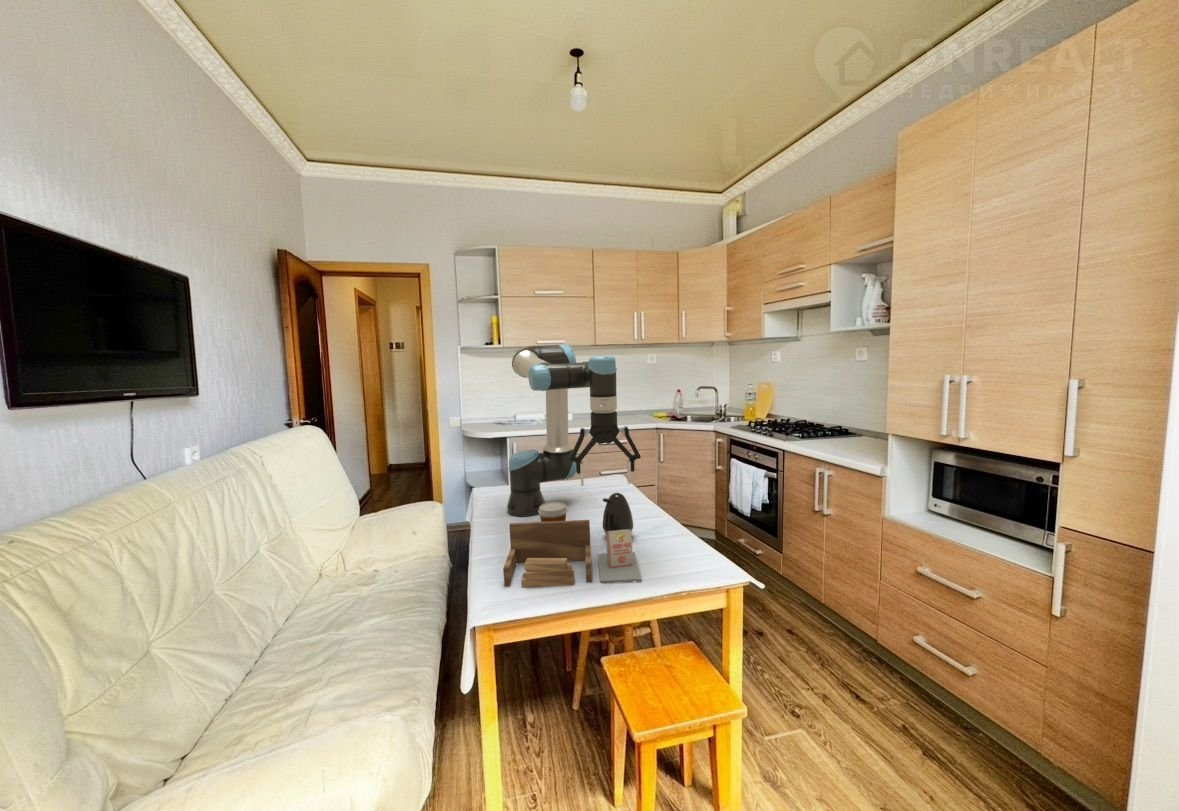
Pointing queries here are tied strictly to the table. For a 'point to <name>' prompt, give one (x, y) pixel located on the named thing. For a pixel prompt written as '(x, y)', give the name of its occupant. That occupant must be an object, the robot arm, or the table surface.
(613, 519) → the pump dispenser
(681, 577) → the table surface
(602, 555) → the mat
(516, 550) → the bench
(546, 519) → the disposable coffee cup
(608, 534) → the tea bag
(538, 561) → the offcut stack
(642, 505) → the table surface
